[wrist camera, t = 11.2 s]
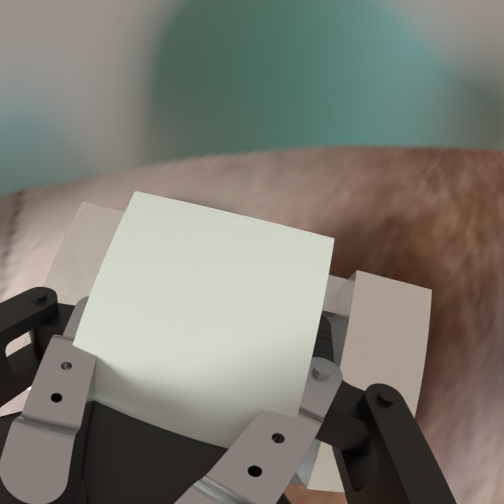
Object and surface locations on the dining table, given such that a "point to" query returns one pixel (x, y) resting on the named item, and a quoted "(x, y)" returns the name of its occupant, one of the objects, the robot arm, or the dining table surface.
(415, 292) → the rail plate
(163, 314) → the block
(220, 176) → the dining table surface
